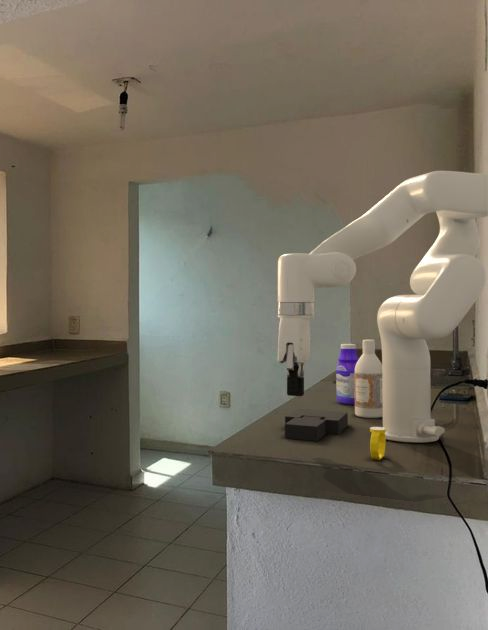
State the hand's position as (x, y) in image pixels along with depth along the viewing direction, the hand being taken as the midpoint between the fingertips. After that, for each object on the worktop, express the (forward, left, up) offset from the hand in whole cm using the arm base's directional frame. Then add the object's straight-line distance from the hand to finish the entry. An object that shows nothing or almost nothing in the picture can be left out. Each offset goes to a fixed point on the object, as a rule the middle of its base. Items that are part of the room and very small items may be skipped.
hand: (295, 395), depth 141 cm
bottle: (+36, -47, -11) cm, 60 cm away
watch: (-17, -5, -11) cm, 21 cm away
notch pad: (+12, -15, -10) cm, 22 cm away
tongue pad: (+6, -8, -10) cm, 14 cm away
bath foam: (+18, -37, -11) cm, 43 cm away
